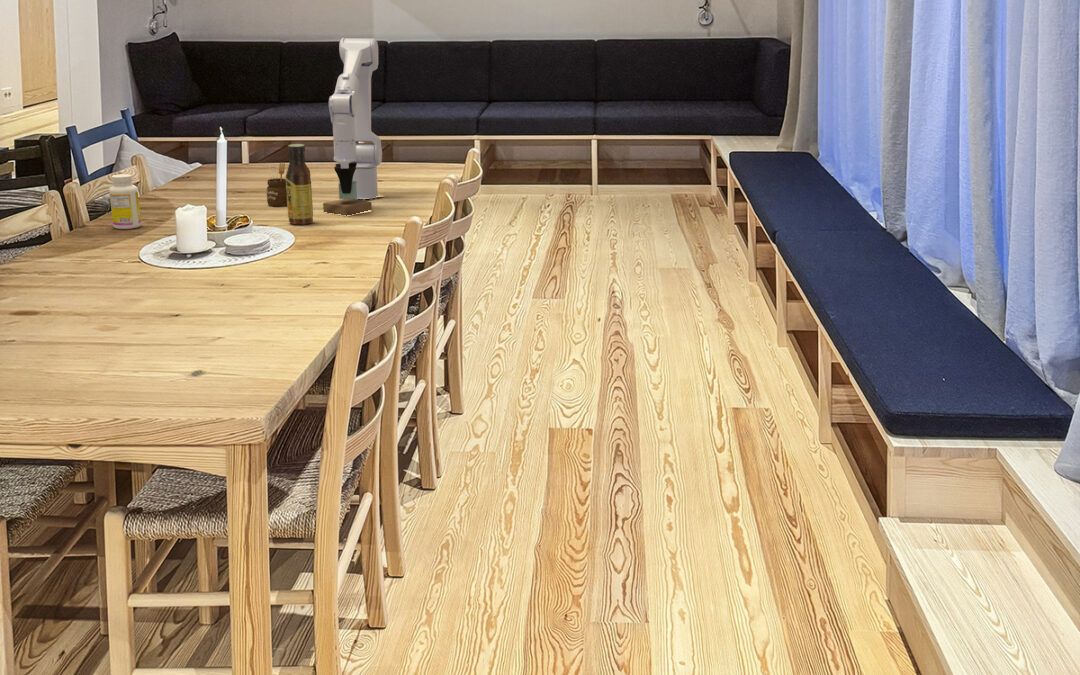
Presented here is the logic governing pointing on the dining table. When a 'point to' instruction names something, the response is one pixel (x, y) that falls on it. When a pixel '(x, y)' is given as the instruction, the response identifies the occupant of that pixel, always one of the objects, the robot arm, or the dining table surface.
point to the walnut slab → (347, 206)
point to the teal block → (352, 195)
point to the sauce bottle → (298, 187)
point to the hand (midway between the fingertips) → (346, 191)
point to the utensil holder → (277, 189)
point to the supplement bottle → (124, 202)
